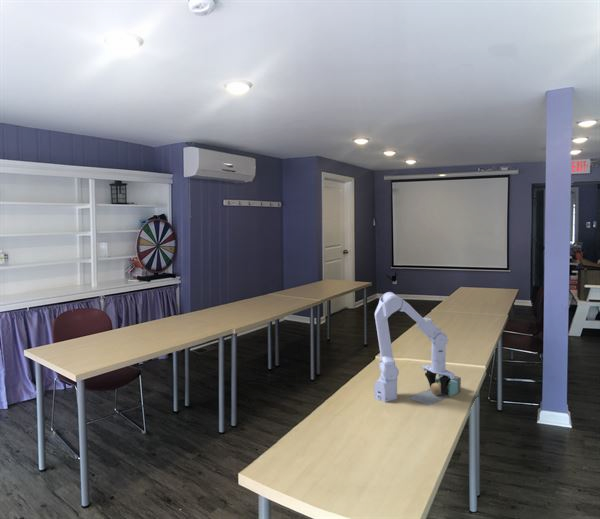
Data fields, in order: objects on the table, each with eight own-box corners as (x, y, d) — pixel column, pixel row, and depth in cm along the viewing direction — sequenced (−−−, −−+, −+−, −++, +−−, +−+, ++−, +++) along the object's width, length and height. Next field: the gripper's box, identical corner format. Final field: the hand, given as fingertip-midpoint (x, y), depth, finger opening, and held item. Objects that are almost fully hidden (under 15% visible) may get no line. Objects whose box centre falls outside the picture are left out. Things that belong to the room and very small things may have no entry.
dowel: (440, 396, 185) (440, 385, 185) (430, 393, 189) (430, 382, 189) (451, 391, 190) (451, 380, 190) (441, 388, 194) (442, 377, 194)
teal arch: (450, 395, 187) (450, 384, 187) (434, 390, 193) (434, 379, 193) (457, 392, 190) (457, 381, 190) (441, 387, 196) (441, 376, 196)
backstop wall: (456, 394, 191) (456, 379, 190) (438, 387, 198) (438, 373, 197) (460, 392, 192) (460, 377, 192) (442, 386, 200) (442, 372, 199)
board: (427, 407, 178) (427, 405, 178) (407, 399, 186) (407, 397, 186) (457, 394, 190) (457, 393, 190) (437, 387, 198) (437, 386, 198)
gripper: (459, 361, 184) (459, 393, 185) (429, 353, 195) (429, 383, 197) (449, 365, 180) (448, 398, 181) (419, 356, 191) (419, 387, 192)
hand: (438, 391), depth 188 cm, fingers closed on dowel, 5 cm apart
